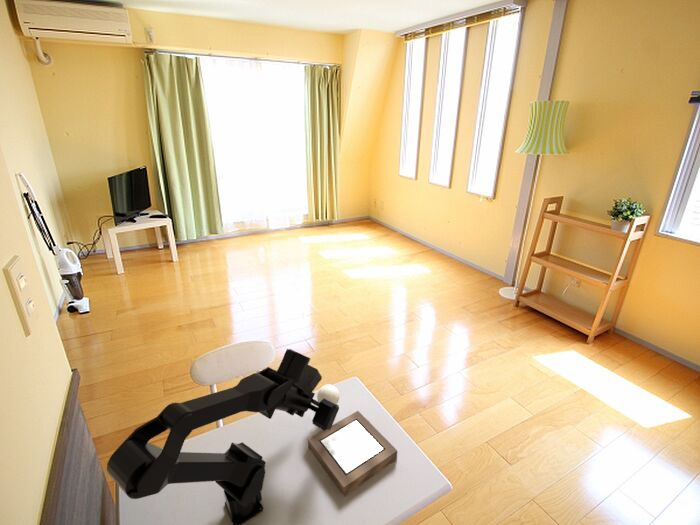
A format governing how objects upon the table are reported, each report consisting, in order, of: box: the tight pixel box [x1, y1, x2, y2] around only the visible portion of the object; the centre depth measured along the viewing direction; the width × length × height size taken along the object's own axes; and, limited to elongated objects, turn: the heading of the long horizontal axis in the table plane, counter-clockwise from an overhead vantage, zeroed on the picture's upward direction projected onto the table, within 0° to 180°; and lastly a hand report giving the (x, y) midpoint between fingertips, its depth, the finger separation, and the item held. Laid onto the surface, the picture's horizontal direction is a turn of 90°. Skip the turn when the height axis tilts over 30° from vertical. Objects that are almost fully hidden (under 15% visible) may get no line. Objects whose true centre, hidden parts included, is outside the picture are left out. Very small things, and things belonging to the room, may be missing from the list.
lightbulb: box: [316, 383, 340, 405], centre depth 100 cm, size 6×6×11 cm
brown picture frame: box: [307, 410, 398, 497], centre depth 91 cm, size 16×16×3 cm
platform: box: [321, 420, 383, 475], centre depth 91 cm, size 11×11×2 cm
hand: (319, 406), depth 96 cm, fingers open, 9 cm apart
